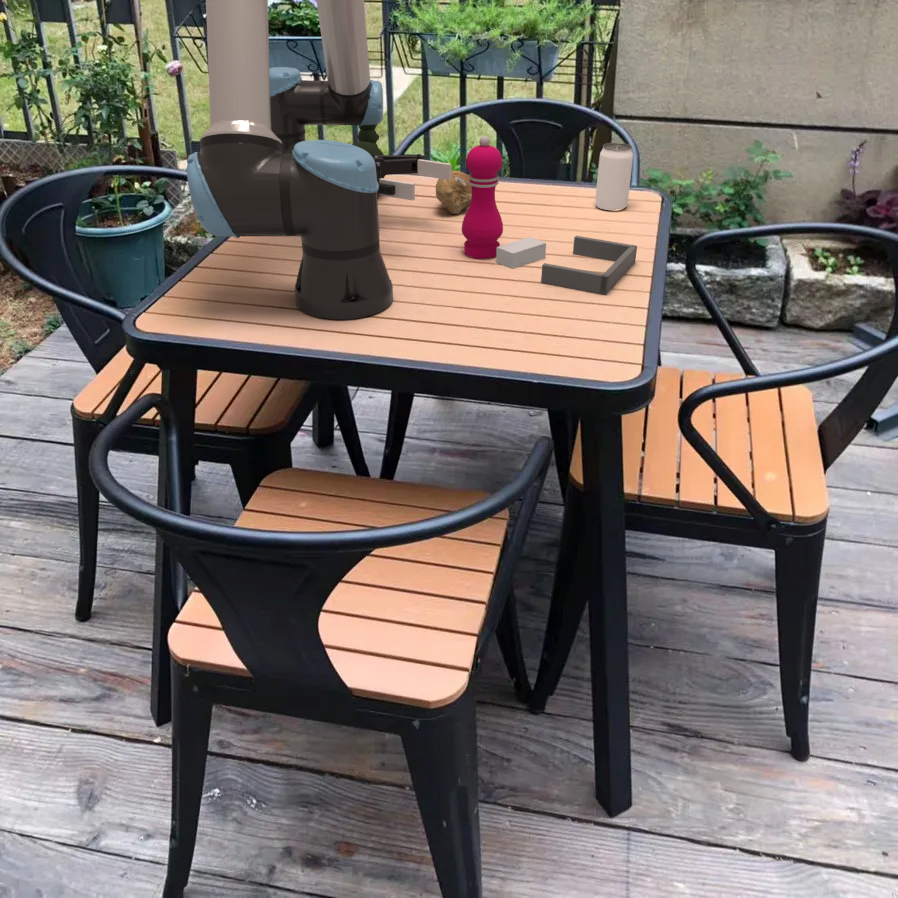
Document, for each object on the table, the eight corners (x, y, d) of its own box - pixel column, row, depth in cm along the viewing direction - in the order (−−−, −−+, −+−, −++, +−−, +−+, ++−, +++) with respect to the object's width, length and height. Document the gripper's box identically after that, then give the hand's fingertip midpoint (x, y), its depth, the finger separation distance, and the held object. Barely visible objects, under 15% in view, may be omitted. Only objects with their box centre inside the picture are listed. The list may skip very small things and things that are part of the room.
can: (592, 210, 174) (598, 148, 167) (597, 200, 179) (603, 141, 172) (624, 213, 172) (632, 151, 165) (628, 203, 177) (636, 143, 171)
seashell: (432, 197, 180) (431, 158, 176) (470, 196, 181) (471, 157, 176) (436, 218, 169) (436, 177, 164) (478, 217, 169) (479, 176, 165)
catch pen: (605, 294, 137) (607, 277, 136) (541, 282, 141) (542, 265, 140) (635, 262, 149) (637, 245, 148) (574, 252, 153) (576, 235, 152)
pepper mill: (498, 261, 149) (503, 142, 139) (457, 258, 151) (459, 139, 140) (504, 247, 155) (509, 131, 144) (465, 244, 157) (467, 129, 146)
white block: (512, 270, 147) (513, 253, 145) (496, 263, 149) (496, 247, 148) (545, 259, 151) (546, 242, 150) (528, 253, 154) (529, 236, 152)
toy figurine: (349, 182, 195) (338, 206, 173) (344, 92, 186) (332, 105, 164) (391, 182, 195) (385, 206, 173) (388, 92, 186) (382, 105, 164)
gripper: (367, 169, 170) (463, 184, 162) (292, 204, 151) (397, 223, 143) (365, 130, 166) (464, 143, 158) (288, 161, 147) (396, 178, 139)
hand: (432, 181), depth 151 cm, fingers open, 13 cm apart
